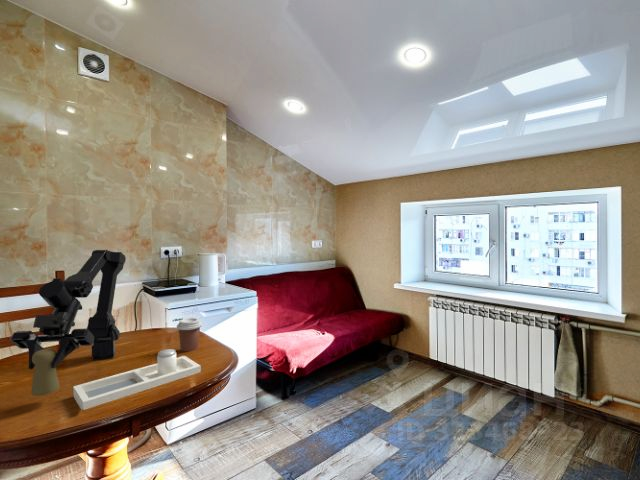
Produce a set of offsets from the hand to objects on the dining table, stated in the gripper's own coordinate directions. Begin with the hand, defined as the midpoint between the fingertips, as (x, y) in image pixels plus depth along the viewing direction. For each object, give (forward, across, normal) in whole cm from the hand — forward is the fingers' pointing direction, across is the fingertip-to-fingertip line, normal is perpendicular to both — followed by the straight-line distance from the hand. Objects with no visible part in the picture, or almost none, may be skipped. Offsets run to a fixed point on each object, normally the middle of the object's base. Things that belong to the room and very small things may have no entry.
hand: (41, 368), depth 90 cm
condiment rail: (+1, +22, +13) cm, 26 cm away
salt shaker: (-2, +28, +16) cm, 32 cm away
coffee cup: (-17, +31, +33) cm, 48 cm away
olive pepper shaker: (+4, 0, +6) cm, 7 cm away
